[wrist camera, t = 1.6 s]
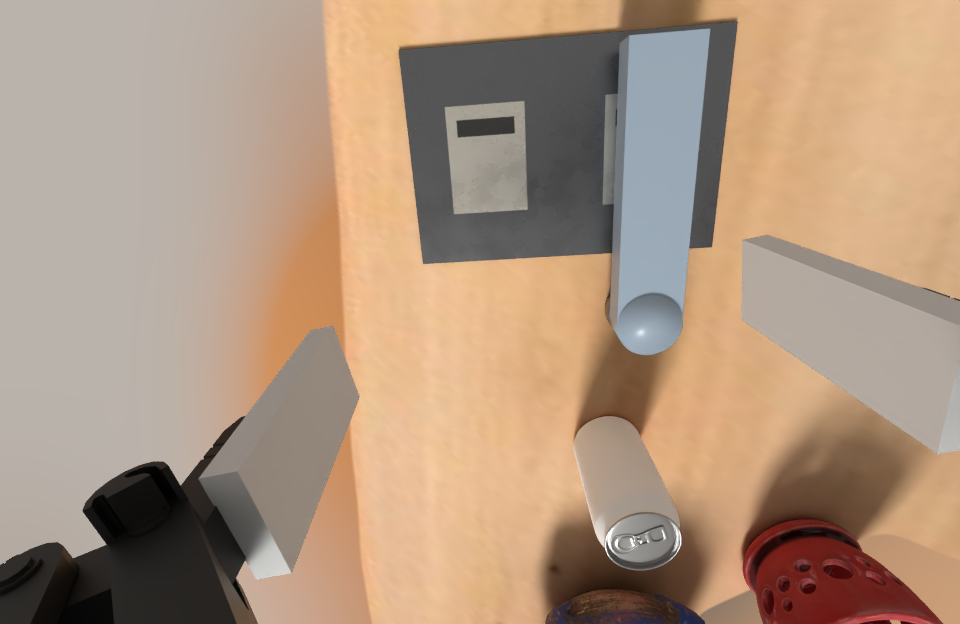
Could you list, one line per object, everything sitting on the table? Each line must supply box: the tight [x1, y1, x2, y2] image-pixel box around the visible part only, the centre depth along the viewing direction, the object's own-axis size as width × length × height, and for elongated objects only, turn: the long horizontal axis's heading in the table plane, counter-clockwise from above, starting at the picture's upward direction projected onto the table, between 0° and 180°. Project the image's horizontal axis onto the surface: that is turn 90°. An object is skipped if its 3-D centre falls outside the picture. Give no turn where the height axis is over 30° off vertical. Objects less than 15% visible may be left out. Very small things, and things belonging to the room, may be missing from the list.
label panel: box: [399, 22, 738, 264], centre depth 35 cm, size 24×16×1 cm, turn 94°
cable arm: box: [609, 29, 710, 355], centre depth 33 cm, size 5×22×3 cm, turn 4°
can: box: [574, 416, 682, 571], centre depth 39 cm, size 6×6×12 cm
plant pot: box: [743, 519, 943, 624], centre depth 43 cm, size 13×13×12 cm
